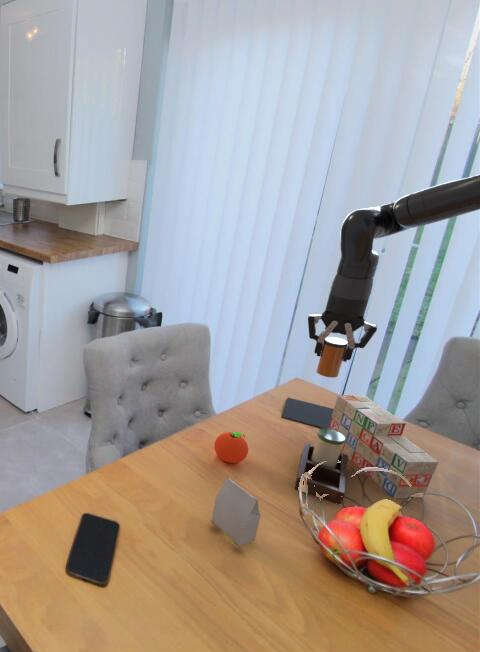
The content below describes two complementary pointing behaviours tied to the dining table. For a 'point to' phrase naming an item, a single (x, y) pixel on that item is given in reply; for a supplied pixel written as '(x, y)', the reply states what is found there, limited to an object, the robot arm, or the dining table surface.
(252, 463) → the dining table surface
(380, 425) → the stack of blocks
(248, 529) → the grey paper bag
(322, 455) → the beige jar
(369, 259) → the robot arm
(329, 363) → the amber jar
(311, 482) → the rack
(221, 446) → the red tomato
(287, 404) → the mat
